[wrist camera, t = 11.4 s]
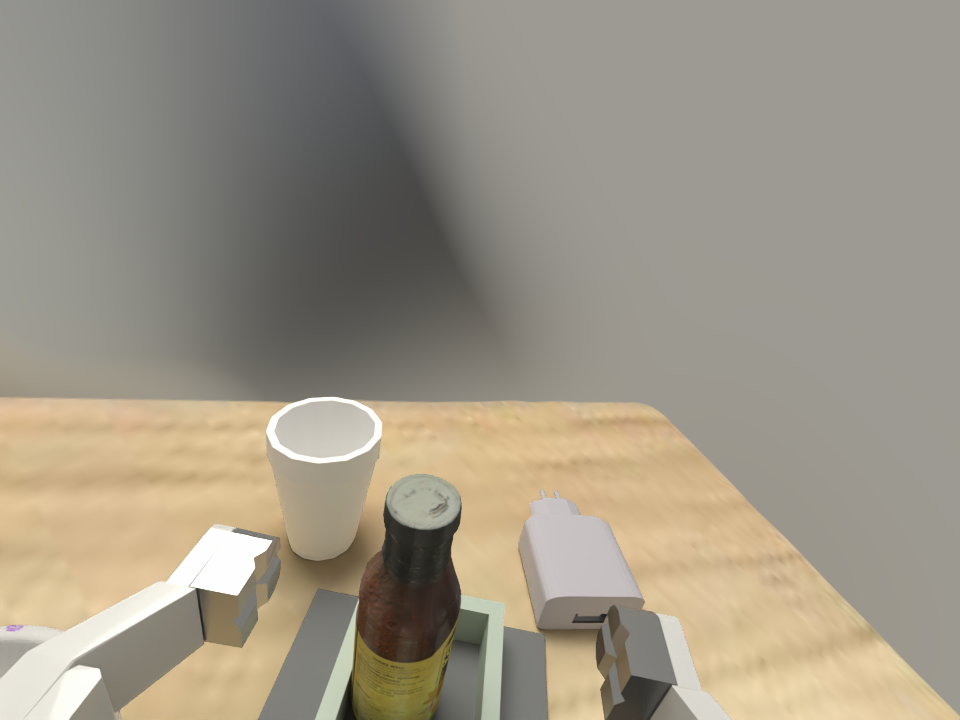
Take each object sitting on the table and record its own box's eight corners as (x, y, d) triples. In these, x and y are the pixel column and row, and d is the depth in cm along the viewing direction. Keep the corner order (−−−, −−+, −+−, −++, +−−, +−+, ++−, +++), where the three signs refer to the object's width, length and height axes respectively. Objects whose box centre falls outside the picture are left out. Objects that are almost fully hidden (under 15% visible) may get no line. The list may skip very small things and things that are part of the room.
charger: (580, 508, 55) (630, 630, 42) (506, 505, 53) (535, 631, 40) (591, 478, 53) (648, 597, 40) (514, 474, 51) (548, 596, 38)
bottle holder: (299, 794, 28) (299, 762, 26) (363, 606, 39) (367, 575, 37) (483, 832, 28) (496, 802, 26) (495, 633, 39) (504, 603, 37)
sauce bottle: (447, 734, 32) (509, 546, 22) (355, 769, 29) (380, 575, 20) (422, 640, 37) (463, 455, 27) (342, 664, 34) (357, 468, 25)
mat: (201, 847, 25) (200, 844, 25) (318, 591, 40) (318, 588, 40) (553, 918, 25) (555, 916, 25) (543, 637, 40) (544, 634, 40)
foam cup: (251, 564, 41) (243, 449, 35) (295, 492, 49) (294, 389, 43) (356, 583, 41) (366, 472, 35) (382, 507, 49) (393, 408, 44)
